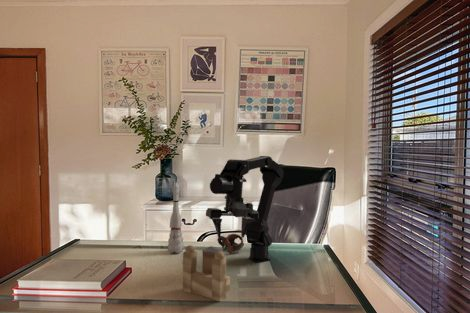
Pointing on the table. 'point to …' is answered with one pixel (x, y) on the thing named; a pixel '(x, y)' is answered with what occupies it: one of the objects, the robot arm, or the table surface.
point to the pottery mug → (231, 242)
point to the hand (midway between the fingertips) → (231, 237)
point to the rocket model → (175, 225)
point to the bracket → (209, 258)
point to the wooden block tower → (205, 276)
